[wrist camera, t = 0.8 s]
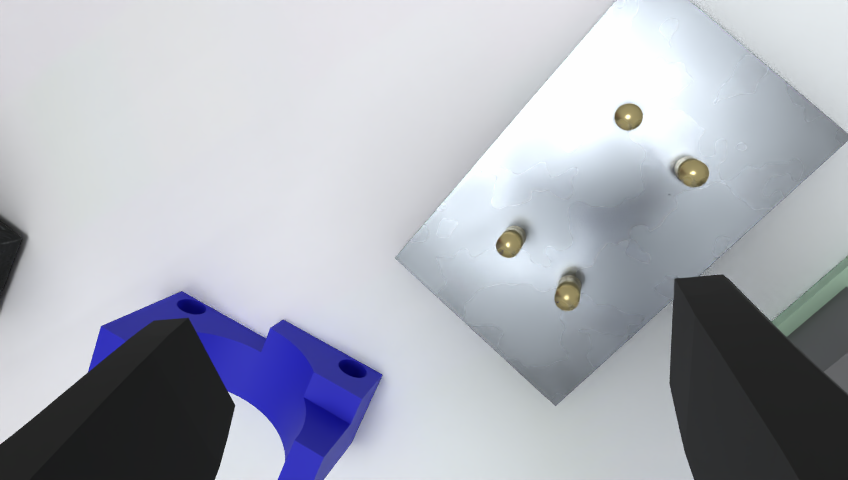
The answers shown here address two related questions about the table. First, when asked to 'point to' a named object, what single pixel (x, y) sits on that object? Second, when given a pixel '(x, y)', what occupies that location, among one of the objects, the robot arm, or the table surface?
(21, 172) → the table surface
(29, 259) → the table surface
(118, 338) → the cable clip
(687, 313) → the robot arm
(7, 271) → the graphics card box
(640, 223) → the chassis plate
